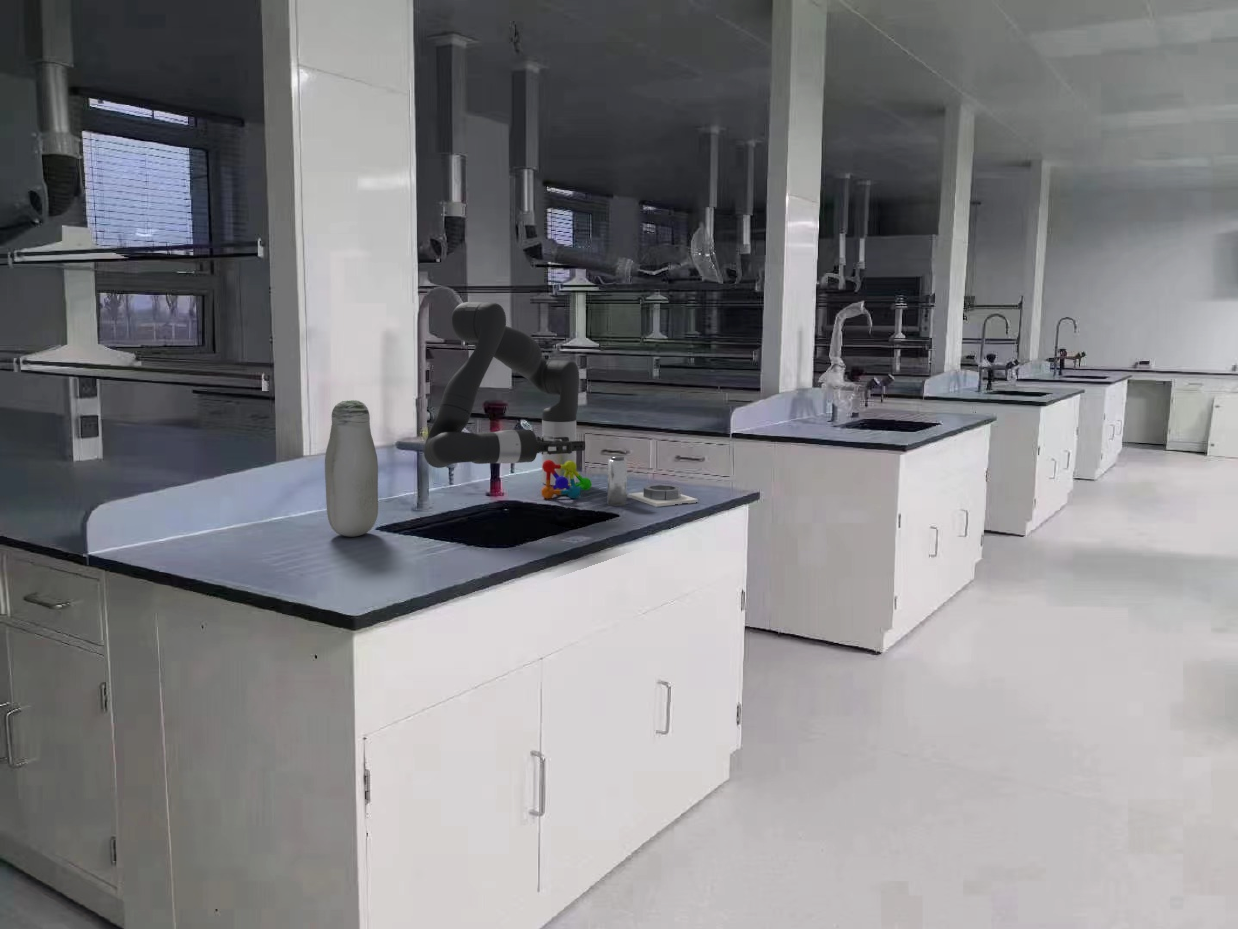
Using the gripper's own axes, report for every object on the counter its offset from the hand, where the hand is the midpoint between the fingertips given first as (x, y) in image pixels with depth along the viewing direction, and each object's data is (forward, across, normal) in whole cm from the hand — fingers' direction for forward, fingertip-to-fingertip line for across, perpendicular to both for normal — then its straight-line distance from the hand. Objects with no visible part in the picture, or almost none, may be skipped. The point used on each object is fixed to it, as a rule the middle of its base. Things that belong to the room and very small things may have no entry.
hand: (576, 443), depth 228 cm
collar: (+24, 0, +15) cm, 29 cm away
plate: (+24, 0, +15) cm, 29 cm away
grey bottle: (-54, -4, +16) cm, 56 cm away
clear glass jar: (+12, 0, +16) cm, 19 cm away
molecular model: (+4, +14, +16) cm, 22 cm away
